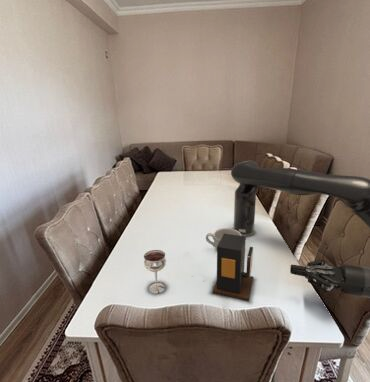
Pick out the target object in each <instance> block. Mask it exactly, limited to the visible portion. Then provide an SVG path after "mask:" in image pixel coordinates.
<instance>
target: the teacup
mask: <svg viewBox="0 0 370 382" xmlns="http://www.w3.org/2000/svg"><path fill="white" fill-rule="evenodd" d="M224 233H225V234H232V235H239V236H242V235H241V233H240V232H238V231H237V230H234V228H229V227H224V228H219V229H217V230H215V232H214V233H212V232H207V234H206V235H205V241H206V242H207V243H208V244H210V245H211V246H212V247H213V248H214V249H215V251H216V252H217V246H218V244H219V242H220V240H221V238H222V236H223V234H224ZM209 237H211V238H212V239H213V241H211V240H210V238H209Z"/></svg>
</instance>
